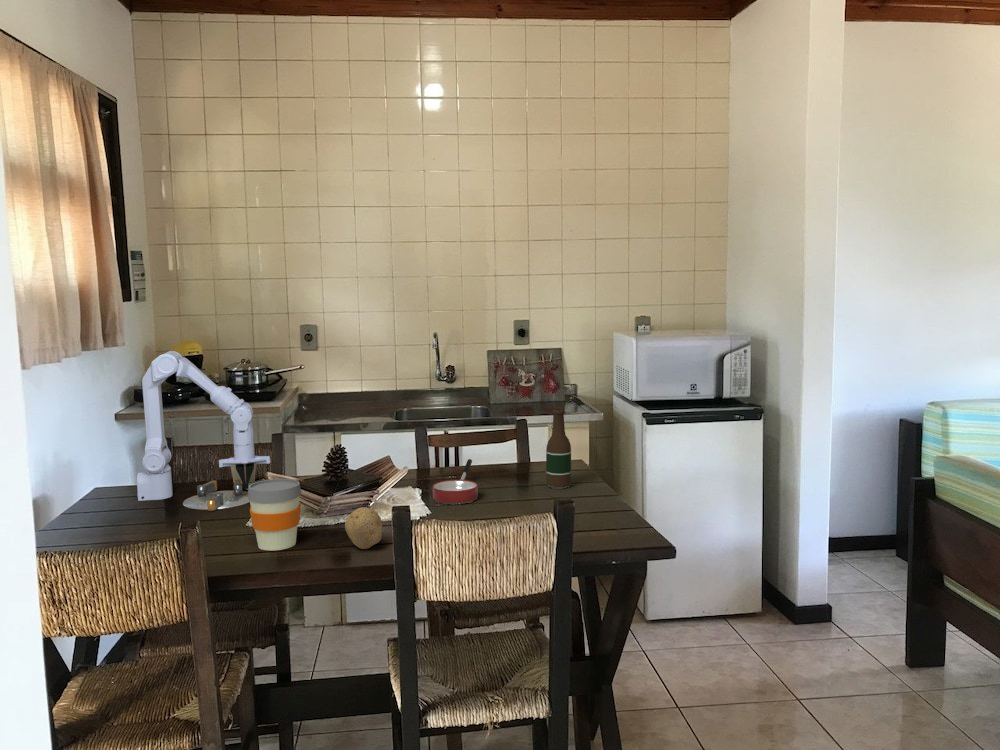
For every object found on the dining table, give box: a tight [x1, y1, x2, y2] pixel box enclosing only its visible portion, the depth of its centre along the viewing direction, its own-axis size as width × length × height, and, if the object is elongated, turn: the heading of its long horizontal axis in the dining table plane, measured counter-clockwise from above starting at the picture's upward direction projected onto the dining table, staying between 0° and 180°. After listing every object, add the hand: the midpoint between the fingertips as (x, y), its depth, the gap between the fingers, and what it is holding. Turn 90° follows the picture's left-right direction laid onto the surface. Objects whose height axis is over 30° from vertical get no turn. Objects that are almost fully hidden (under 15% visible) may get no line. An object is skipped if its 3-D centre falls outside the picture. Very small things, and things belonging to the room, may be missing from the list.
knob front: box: [207, 492, 224, 512], centre depth 232 cm, size 8×2×3 cm, turn 0°
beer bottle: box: [545, 408, 572, 487], centre depth 254 cm, size 8×8×24 cm
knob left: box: [196, 480, 218, 497], centre depth 247 cm, size 8×2×3 cm, turn 168°
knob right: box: [233, 479, 243, 495], centre depth 248 cm, size 8×2×3 cm, turn 18°
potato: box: [344, 506, 383, 550], centre depth 200 cm, size 9×9×10 cm
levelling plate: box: [182, 490, 250, 510], centre depth 241 cm, size 20×20×2 cm
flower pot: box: [227, 456, 257, 485], centre depth 262 cm, size 9×9×9 cm
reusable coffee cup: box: [247, 478, 302, 552], centre depth 203 cm, size 13×13×15 cm
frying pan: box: [432, 458, 479, 503], centre depth 251 cm, size 32×13×6 cm, turn 178°
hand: (246, 488), depth 250 cm, fingers closed
